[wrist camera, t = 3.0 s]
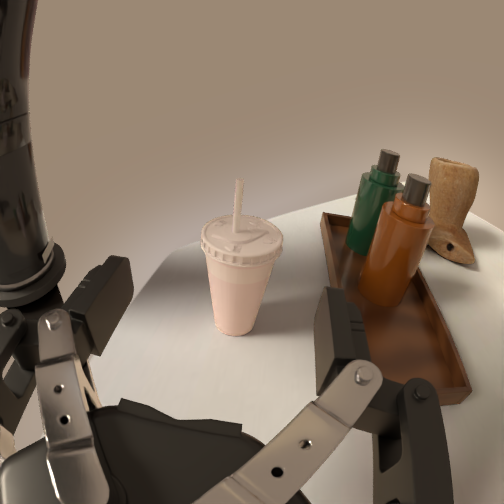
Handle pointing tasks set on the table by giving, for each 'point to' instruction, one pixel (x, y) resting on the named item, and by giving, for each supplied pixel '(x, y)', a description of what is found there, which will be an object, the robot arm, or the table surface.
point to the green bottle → (373, 200)
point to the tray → (398, 322)
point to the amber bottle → (397, 244)
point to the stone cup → (451, 207)
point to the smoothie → (239, 265)
